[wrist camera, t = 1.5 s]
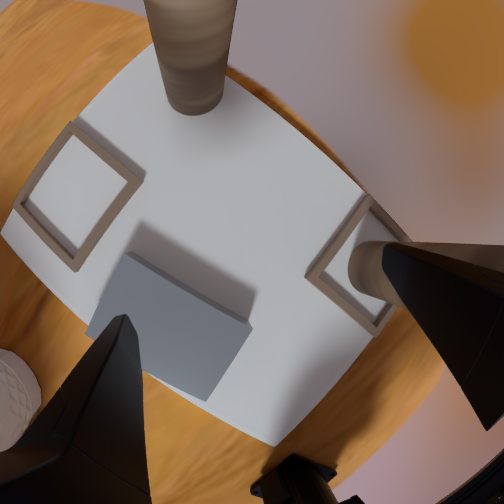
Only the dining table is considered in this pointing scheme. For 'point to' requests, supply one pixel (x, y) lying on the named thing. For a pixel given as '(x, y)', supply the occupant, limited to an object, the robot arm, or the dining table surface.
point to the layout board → (212, 234)
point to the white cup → (16, 398)
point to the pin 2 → (370, 252)
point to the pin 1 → (192, 50)
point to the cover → (172, 326)
